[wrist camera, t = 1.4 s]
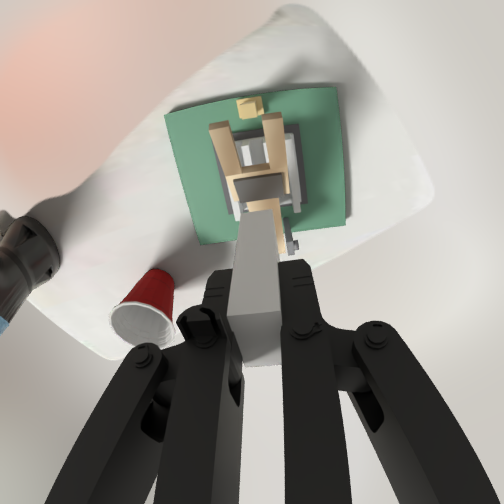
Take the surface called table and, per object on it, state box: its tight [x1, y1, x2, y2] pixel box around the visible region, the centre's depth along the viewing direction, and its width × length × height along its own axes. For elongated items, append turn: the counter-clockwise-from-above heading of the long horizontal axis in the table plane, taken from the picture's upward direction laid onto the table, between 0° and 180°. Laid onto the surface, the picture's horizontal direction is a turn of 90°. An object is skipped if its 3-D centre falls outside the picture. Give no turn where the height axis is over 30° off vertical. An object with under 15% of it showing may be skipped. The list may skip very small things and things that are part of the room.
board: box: [164, 87, 346, 256], centre depth 32 cm, size 22×20×9 cm
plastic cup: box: [109, 269, 176, 349], centre depth 43 cm, size 11×11×12 cm
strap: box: [209, 112, 290, 254], centre depth 26 cm, size 5×20×1 cm, turn 10°
